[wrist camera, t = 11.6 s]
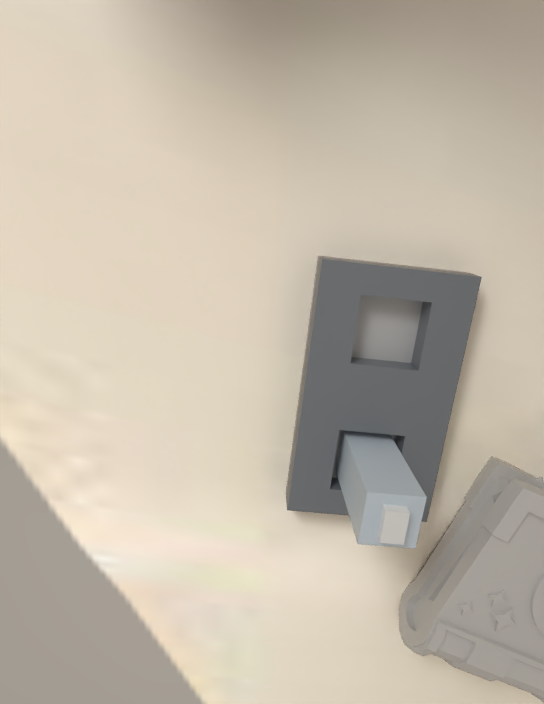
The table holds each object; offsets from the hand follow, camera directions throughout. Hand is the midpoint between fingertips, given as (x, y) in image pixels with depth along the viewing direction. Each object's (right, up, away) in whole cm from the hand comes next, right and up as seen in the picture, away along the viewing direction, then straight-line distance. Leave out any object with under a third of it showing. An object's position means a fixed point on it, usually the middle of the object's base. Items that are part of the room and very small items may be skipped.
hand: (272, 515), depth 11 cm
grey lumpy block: (+28, -19, +39) cm, 51 cm away
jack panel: (+8, 0, +32) cm, 33 cm away
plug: (+8, -5, +33) cm, 35 cm away
